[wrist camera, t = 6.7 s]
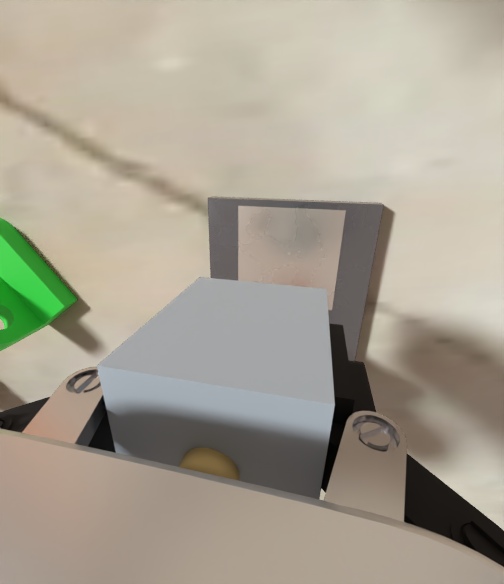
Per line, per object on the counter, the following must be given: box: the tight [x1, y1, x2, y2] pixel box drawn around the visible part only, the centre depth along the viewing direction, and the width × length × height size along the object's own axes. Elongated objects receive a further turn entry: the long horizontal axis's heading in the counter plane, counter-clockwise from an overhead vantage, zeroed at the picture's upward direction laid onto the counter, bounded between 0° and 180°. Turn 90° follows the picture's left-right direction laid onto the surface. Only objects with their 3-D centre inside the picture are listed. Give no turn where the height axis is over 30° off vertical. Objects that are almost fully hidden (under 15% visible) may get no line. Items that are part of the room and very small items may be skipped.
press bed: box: [208, 197, 384, 361], centre depth 21 cm, size 16×13×10 cm
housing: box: [97, 277, 335, 499], centre depth 9 cm, size 5×5×6 cm
